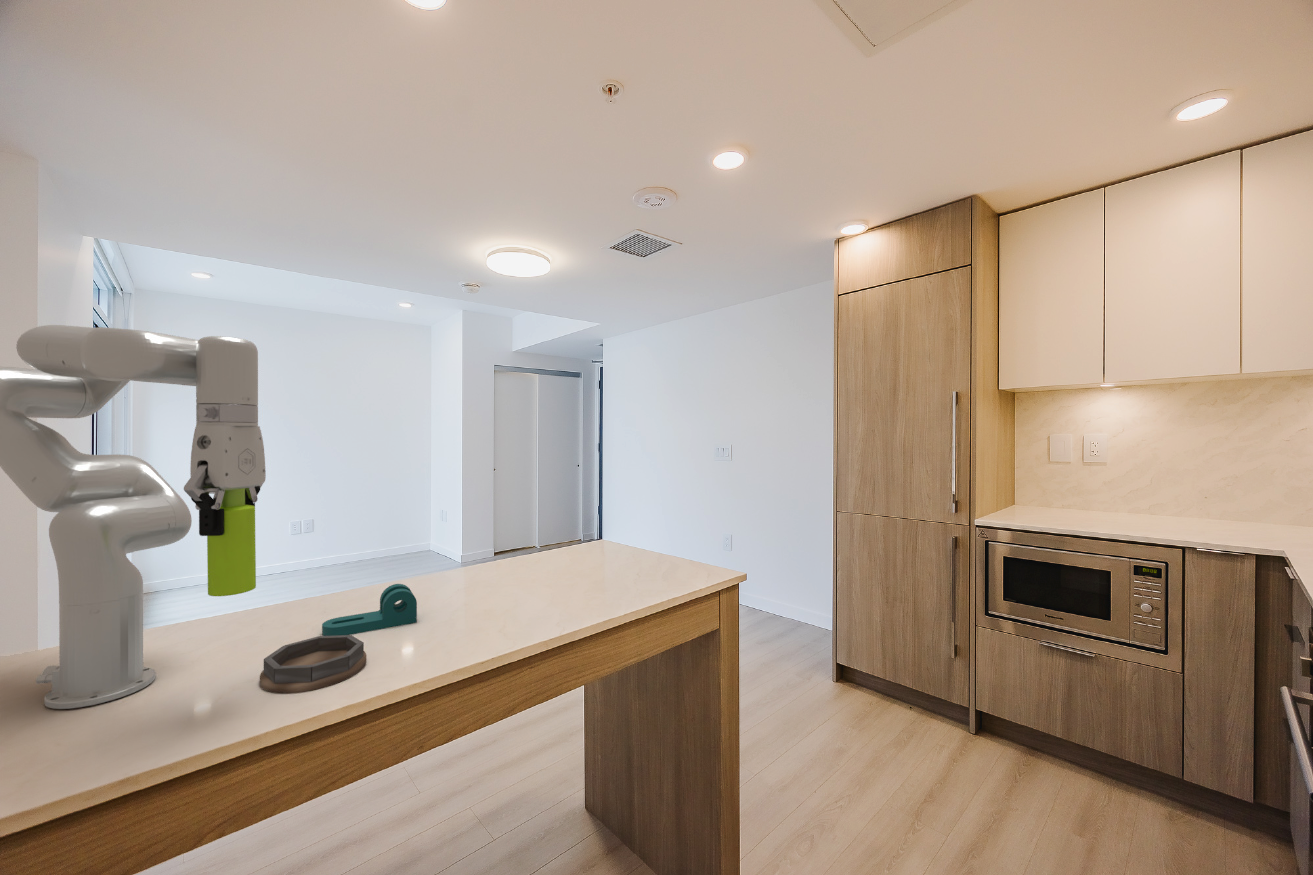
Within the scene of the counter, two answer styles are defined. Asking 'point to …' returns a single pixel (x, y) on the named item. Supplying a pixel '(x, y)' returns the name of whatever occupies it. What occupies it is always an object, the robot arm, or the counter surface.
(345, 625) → the bracket
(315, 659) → the collar stand
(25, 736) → the counter surface
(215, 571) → the soap dispenser
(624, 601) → the counter surface
